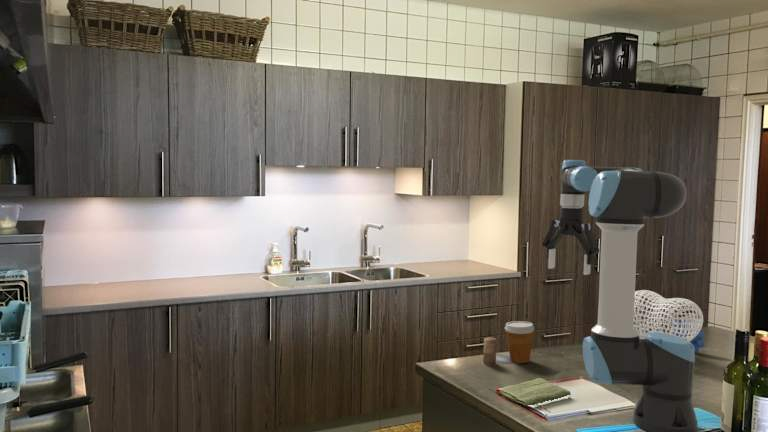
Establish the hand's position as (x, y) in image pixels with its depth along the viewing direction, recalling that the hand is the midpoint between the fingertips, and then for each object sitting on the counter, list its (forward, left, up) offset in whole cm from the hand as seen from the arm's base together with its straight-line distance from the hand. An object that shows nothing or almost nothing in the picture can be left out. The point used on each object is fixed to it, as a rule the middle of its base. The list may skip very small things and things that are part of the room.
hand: (568, 271), depth 217 cm
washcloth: (-37, -8, -31) cm, 49 cm away
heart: (+28, -22, -31) cm, 47 cm away
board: (-16, +12, -31) cm, 37 cm away
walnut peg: (-23, +15, -29) cm, 40 cm away
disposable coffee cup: (-14, +9, -29) cm, 34 cm away
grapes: (+42, -27, -31) cm, 59 cm away
